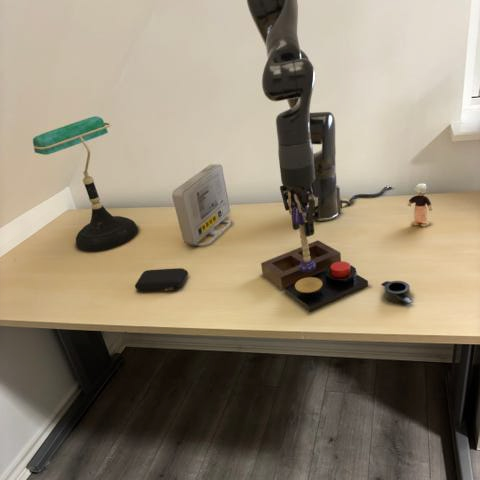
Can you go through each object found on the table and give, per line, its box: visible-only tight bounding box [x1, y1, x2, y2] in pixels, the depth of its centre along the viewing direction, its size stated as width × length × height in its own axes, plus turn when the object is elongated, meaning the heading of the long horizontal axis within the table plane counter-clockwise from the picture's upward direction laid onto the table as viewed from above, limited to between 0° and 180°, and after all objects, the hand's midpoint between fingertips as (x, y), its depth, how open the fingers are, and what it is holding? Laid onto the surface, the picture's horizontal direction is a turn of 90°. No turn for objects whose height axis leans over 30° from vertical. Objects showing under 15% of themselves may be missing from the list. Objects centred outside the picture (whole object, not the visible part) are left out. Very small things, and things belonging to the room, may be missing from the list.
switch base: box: [283, 264, 369, 313], centre depth 130 cm, size 18×12×4 cm, turn 117°
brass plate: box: [295, 277, 323, 293], centre depth 127 cm, size 7×7×1 cm
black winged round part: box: [380, 280, 415, 304], centre depth 122 cm, size 8×10×3 cm
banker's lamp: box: [32, 115, 139, 253], centre depth 173 cm, size 26×23×40 cm
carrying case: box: [134, 267, 189, 292], centre depth 146 cm, size 11×3×15 cm
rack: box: [260, 240, 342, 291], centre depth 140 cm, size 11×19×4 cm, turn 117°
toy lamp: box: [291, 205, 316, 272], centre depth 120 cm, size 5×5×17 cm
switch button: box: [331, 260, 351, 277], centre depth 130 cm, size 5×5×2 cm
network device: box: [171, 163, 232, 247], centre depth 166 cm, size 26×9×20 cm, turn 152°
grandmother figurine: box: [407, 183, 433, 228], centre depth 149 cm, size 8×4×13 cm, turn 58°
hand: (303, 231), depth 119 cm, fingers closed on toy lamp, 4 cm apart
